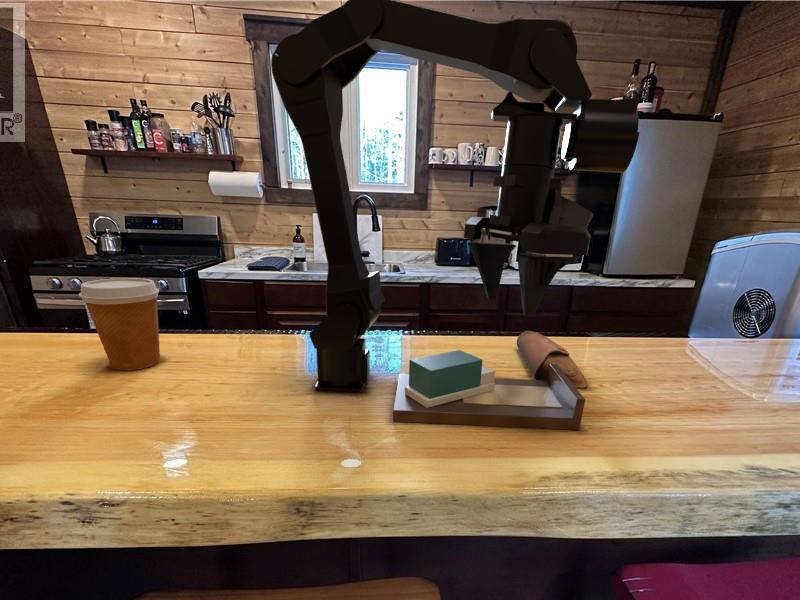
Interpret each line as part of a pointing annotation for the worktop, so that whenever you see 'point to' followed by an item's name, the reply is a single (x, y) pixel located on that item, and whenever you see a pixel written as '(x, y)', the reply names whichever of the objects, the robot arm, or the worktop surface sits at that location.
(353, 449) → the worktop surface
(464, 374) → the teal block
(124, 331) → the disposable coffee cup
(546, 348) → the sunglasses case
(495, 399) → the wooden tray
